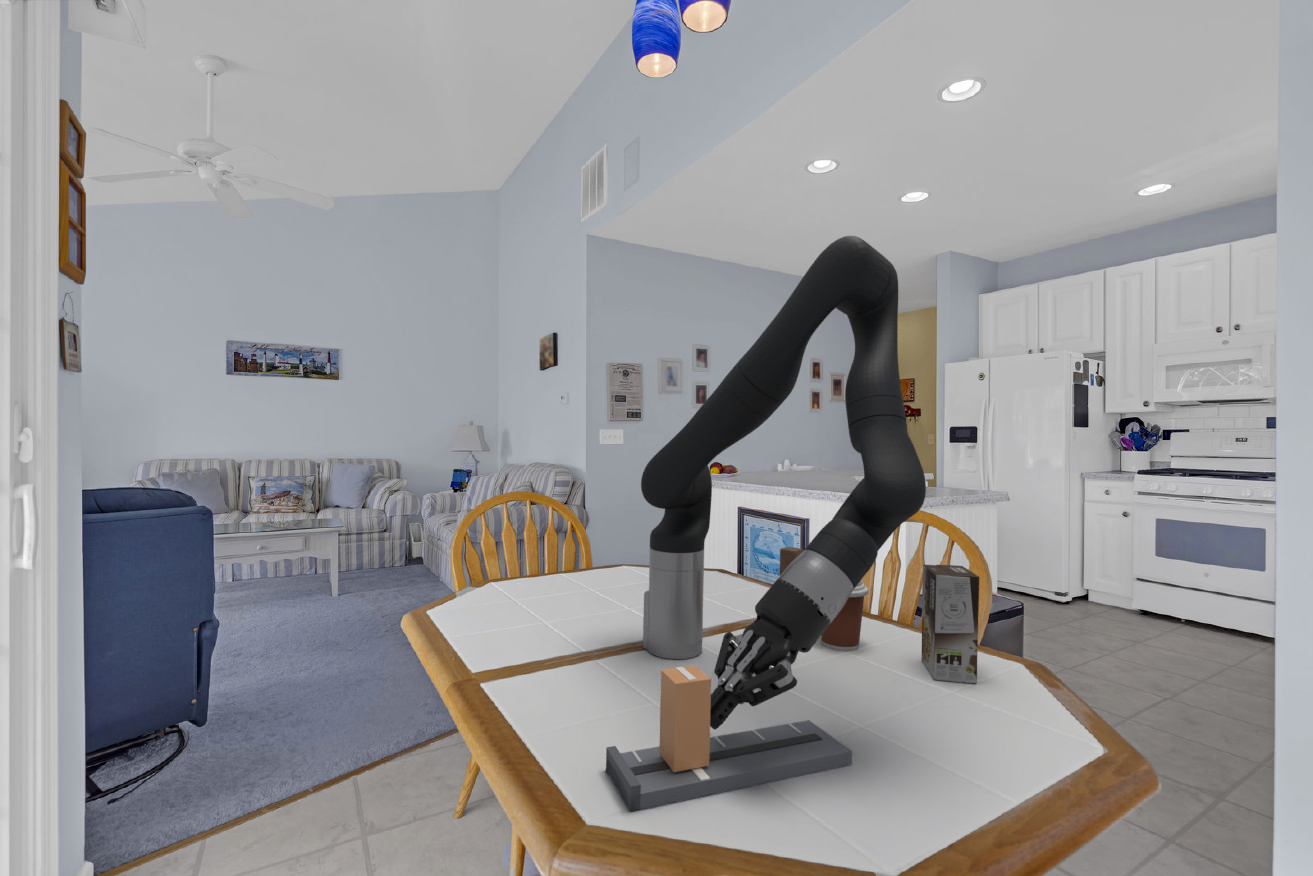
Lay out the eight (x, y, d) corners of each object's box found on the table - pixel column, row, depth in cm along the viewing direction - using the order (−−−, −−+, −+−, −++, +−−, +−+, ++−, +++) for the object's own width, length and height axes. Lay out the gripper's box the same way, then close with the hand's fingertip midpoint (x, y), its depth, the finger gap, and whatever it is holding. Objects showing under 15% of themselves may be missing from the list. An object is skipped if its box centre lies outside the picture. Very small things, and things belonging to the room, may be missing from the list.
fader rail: (630, 811, 60) (630, 786, 60) (605, 769, 67) (606, 747, 67) (851, 764, 69) (852, 743, 69) (808, 732, 77) (809, 712, 77)
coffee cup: (809, 648, 108) (811, 579, 108) (817, 633, 116) (818, 569, 116) (865, 656, 104) (866, 585, 104) (868, 640, 113) (870, 574, 113)
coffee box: (978, 684, 93) (981, 576, 93) (932, 680, 94) (935, 574, 94) (961, 663, 102) (963, 564, 102) (919, 659, 103) (921, 562, 103)
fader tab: (673, 772, 63) (675, 682, 63) (659, 753, 67) (661, 668, 67) (709, 765, 65) (711, 677, 65) (693, 747, 69) (694, 664, 69)
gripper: (755, 566, 77) (660, 678, 72) (821, 591, 64) (712, 728, 60) (790, 606, 79) (701, 717, 74) (861, 638, 66) (759, 774, 62)
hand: (706, 722), depth 67 cm, fingers closed
